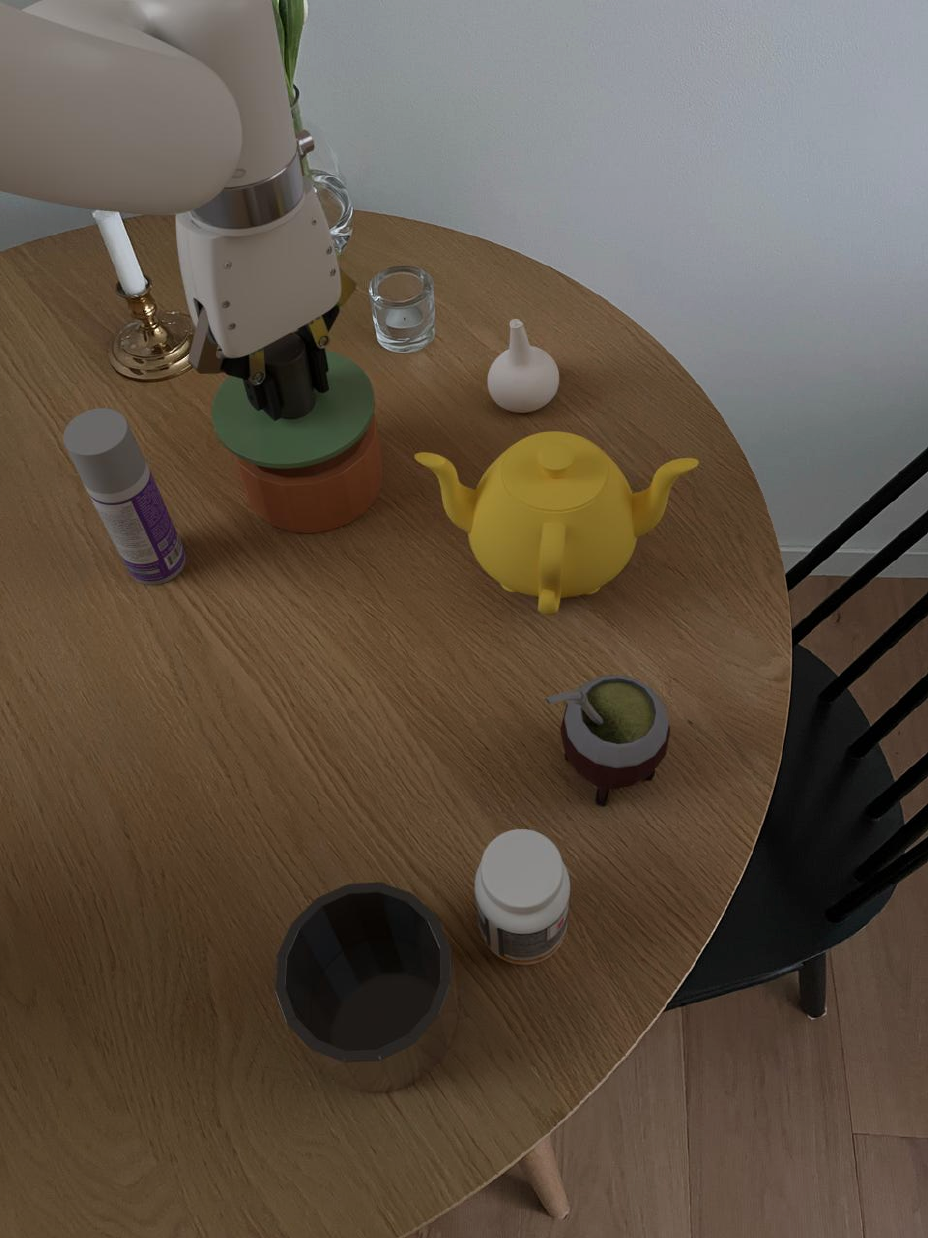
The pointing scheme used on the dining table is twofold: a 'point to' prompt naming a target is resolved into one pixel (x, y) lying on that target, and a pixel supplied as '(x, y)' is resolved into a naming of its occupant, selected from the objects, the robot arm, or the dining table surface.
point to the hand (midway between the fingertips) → (291, 394)
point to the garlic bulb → (522, 374)
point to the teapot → (553, 514)
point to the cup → (369, 986)
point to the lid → (295, 410)
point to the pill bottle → (522, 897)
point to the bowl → (317, 488)
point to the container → (125, 495)
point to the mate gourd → (613, 732)
